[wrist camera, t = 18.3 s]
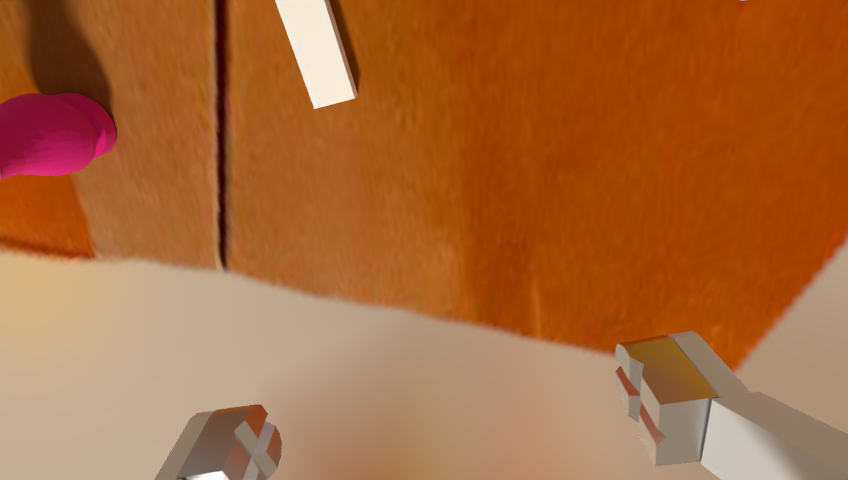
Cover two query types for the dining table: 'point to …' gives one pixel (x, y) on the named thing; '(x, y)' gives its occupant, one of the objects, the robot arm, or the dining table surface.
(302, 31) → the cream rectangular block
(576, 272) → the dining table surface
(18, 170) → the pepper mill
